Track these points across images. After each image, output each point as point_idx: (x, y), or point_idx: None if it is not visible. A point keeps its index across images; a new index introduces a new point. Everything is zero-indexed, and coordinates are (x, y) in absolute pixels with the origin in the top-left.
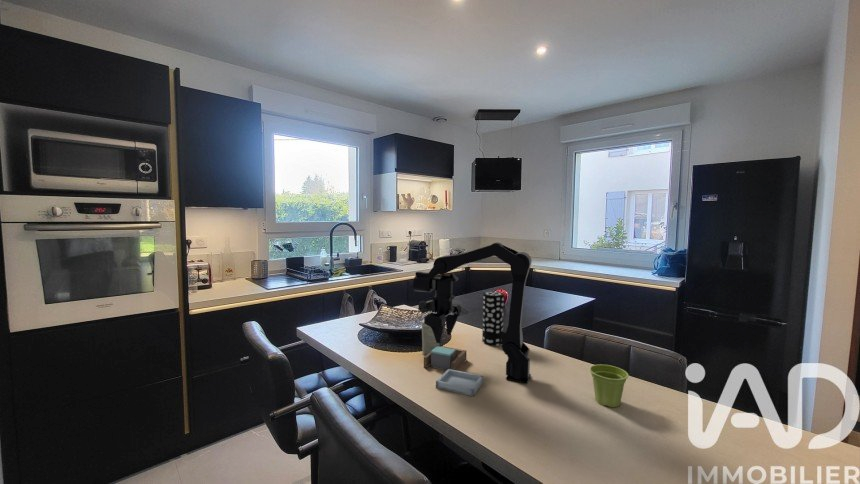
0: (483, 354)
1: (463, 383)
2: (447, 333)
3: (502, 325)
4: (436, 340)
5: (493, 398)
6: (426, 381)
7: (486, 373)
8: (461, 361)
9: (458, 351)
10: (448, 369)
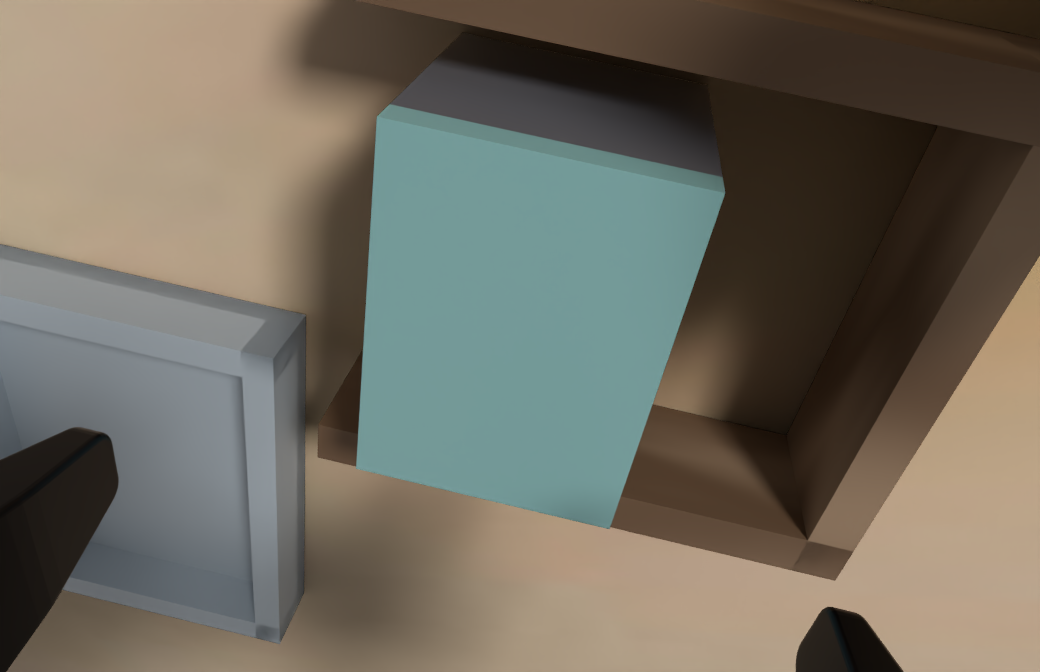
0: (1026, 631)
1: (151, 476)
2: (827, 635)
3: None
4: (10, 474)
5: (102, 629)
6: (12, 90)
7: (489, 621)
8: None
9: (831, 472)
10: (256, 362)
